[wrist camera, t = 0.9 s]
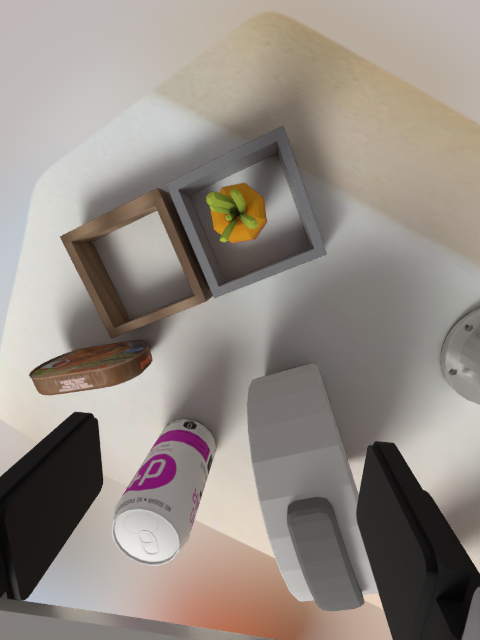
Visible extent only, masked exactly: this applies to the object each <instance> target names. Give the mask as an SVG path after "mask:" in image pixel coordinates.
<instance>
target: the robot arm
mask: <svg viewBox="0 0 480 640" xmlns="http://www.w3.org/2000/svg"><path fill="white" fill-rule="evenodd" d="M465 326H466V327H465ZM441 367H442V372H443V375H444V377H445V379H446V381H447V382H448V383H449V385H450V386H451V387H452V388H453V389H454V390H455V391H456V392H457V393H458V394H460V395H461V396H463V397H464V398H466V399H467V400H469V401H472V402H474V403H476V404H480V308H478V309H476V310H474V311H472V312H471V313H469V314H468V315H466V316H465V317H464V318H462V319H461V320H460V321H459V322H458V323H457V324H456V325H455V326H454V327H453V328H452V330H451V331H450V333H449V334H448V335H447V337H446V340H445V342H444V344H443V347H442V352H441ZM450 369H451V370H450ZM102 485H103V472H102V461H101V450H100V438H99V427H98V420H97V419H96V418H94V416H93V414H91V413H83V412H74V413H73V414H71V415H70V416H69V417H68V418H67V419H66V420H65V421H63V422H62V423H61V424H60V425H59V426H58V427H57V428H55V429H54V430H53V431H52V432H51V433H50V434H49V435H47V436H46V437H45V438H44V439H43V440H42V441H41V442H39V443H38V444H37V445H36V446H35V447H34V448H33V449H31V450H30V451H29V452H28V453H27V454H26V455H25V456H23V457H22V458H21V459H20V460H19V461H18V462H17V463H15V464H14V465H13V466H12V467H11V468H10V469H9V470H8V471H6V472H5V473H4V474H3V475H2V476H1V477H0V640H275V639H268V638H263V637H257V636H250V635H244V634H238V633H232V632H225V631H219V630H213V629H206V628H200V627H193V626H187V625H180V624H174V623H167V622H161V621H155V620H148V619H142V618H135V617H128V616H122V615H116V614H108V613H102V612H95V611H88V610H82V609H75V608H68V607H61V606H55V605H48V604H41V603H33V602H27V601H21V600H25V599H27V598H28V597H29V595H30V594H31V593H32V592H33V590H34V588H35V587H36V586H37V584H38V582H39V581H40V580H41V578H42V577H43V575H44V574H45V572H46V571H47V569H48V568H49V566H50V565H51V563H52V562H53V561H54V559H55V558H56V556H57V555H58V553H59V552H60V550H61V549H62V547H63V546H64V544H65V543H66V541H67V540H68V538H69V537H70V535H71V534H72V532H73V531H74V529H75V528H76V527H77V525H78V524H79V522H80V520H81V519H82V518H83V516H84V515H85V513H86V512H87V510H88V509H89V507H90V506H91V504H92V503H93V501H94V500H95V498H96V497H97V496H98V494H99V492H100V491H101V488H102ZM356 519H357V524H358V527H359V530H360V534H361V537H362V540H363V543H364V547H365V550H366V553H367V557H368V560H369V563H370V566H371V570H372V573H373V576H374V579H375V583H376V586H377V589H378V592H379V596H380V599H381V602H382V606H383V609H384V611H385V615H386V619H387V622H388V625H389V628H390V632H391V635H392V638H393V640H480V573H479V572H478V570H477V569H476V567H475V565H474V564H473V562H472V561H471V559H470V557H469V556H468V554H467V553H466V551H465V549H464V548H463V546H462V545H461V543H460V541H459V540H458V538H457V537H456V535H455V533H454V532H453V530H452V529H451V527H450V525H449V524H448V522H447V521H446V519H445V517H444V516H443V514H442V513H441V511H440V510H439V508H438V506H437V505H436V503H435V502H434V500H433V498H432V497H431V496H430V494H429V493H428V492H426V491H425V490H423V489H422V488H421V486H420V484H419V483H418V481H417V479H416V478H415V476H414V474H413V473H412V471H411V470H410V468H409V466H408V465H407V463H406V461H405V460H404V458H403V456H402V455H401V453H400V451H399V450H398V448H397V447H396V445H395V444H394V443H388V442H378V441H375V442H374V444H373V446H371V445H369V446H368V448H367V453H366V459H365V464H364V470H363V475H362V481H361V486H360V492H359V498H358V503H357V509H356Z"/></svg>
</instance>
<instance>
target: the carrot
mask: <svg viewBox="0 0 480 640" xmlns="http://www.w3.org/2000/svg"><path fill="white" fill-rule="evenodd" d="M206 202H207V203H208V204H209V206H210V210H211V216H212V222H213V227H214V230H215V231H217V232H218V233H219V234H221V237H220V241H221V242H223V243H224V242H226V241H228V240H229V241H230V242H231V243H235V242H241V241H247V240H253V239H256V237H257V236H258V234H259V233H260V232H261V230H262V229H263V227H264V226H265V225H266V223H267V219H266V212H265V204H264V198H263V197H262V196H261V195H260V194H258V193H257V192H256V191H255V190H253V189H252V188H251V187H249V186H248V185H247V184H245V183H241V184H236V185H231V186H226V187H222V189H221V190H220V192H219V193H218V192H213V191H212V192H211V193H209V194H208V195H207V197H206Z"/></svg>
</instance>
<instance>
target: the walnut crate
mask: <svg viewBox="0 0 480 640" xmlns="http://www.w3.org/2000/svg"><path fill="white" fill-rule="evenodd" d="M155 211H158V213H159V215H160V217H161V220H162V222H163V224H164V227H165V229H166V231H167V234H168V236H169V238H170V240H171V243H172V245H173V247H174V250H175V252H176V254H177V256H178V259H179V261H180V263H181V266H182V268H183V270H184V273H185V275H186V277H187V279H188V282H189V284H190V286H191V289H192V291H193V293H194V295H192V296H189V297H187V298H184V299H182V300H179V301H177V302H174V303H172V304H169V305H167V306H164V307H162V308H159V309H157V310H154V311H152V312H149V313H147V314H144V315H142V316H139V317H137V318H134V319H132V320H130V319H129V317H128V315H127V313H126V311H125V309H124V307H123V305H122V302H121V300H120V298H119V296H118V294H117V292H116V290H115V288H114V286H113V284H112V282H111V280H110V278H109V276H108V274H107V272H106V270H105V267H104V265H103V263H102V261H101V259H100V257H99V255H98V253H97V251H96V249H95V247H94V245H93V243H92V241H94V240H96V239H98V238H100V237H102V236H105V235H107V234H109V233H111V232H113V231H115V230H117V229H119V228H121V227H123V226H125V225H128V224H130V223H132V222H134V221H136V220H138V219H140V218H142V217H144V216H146V215H148V214H151V213H153V212H155ZM60 238H61V240H62V242H63V244H64V246H65V248H66V250H67V252H68V254H69V256H70V258H71V260H72V262H73V264H74V266H75V268H76V270H77V272H78V274H79V276H80V277H81V279H82V281H83V283H84V285H85V287H86V289H87V291H88V293H89V295H90V297H91V299H92V301H93V303H94V305H95V307H96V309H97V311H98V313H99V315H100V317H101V319H102V321H103V323H104V325H105V327H106V329H107V331H108V333H109V335H110V337H111V338H114V337H116V336H119V335H121V334H124V333H126V332H129V331H132V330H134V329H137V328H139V327H142V326H144V325H147V324H149V323H152V322H155V321H157V320H160V319H162V318H165V317H167V316H170V315H173V314H175V313H178V312H180V311H183V310H185V309H188V308H190V307H193V306H196V305H198V304H201V303H203V302H206V301H207V300H209V299H210V298H211V297H212V296H213V294H212V292H211V290H210V287H209V285H208V283H207V280H206V278H205V275H204V273H203V271H202V268H201V266H200V264H199V261H198V259H197V257H196V254H195V252H194V249H193V247H192V245H191V242H190V240H189V238H188V235H187V233H186V231H185V228H184V226H183V224H182V221H181V219H180V216H179V214H178V212H177V209H176V207H175V205H174V202H173V200H172V198H171V195H170V193H168V192H165V191H163V190H161V189H159V188H157V189H155V190H153V191H151V192H149V193H147V194H145V195H143V196H141V197H139V198H137V199H135V200H133V201H131V202H129V203H126V204H124V205H122V206H120V207H118V208H116V209H114V210H112V211H110V212H108V213H106V214H104V215H102V216H100V217H98V218H96V219H94V220H92V221H90V222H88V223H86V224H84V225H82V226H80V227H78V228H76V229H74V230H72V231H70V232H68V233H66V234H64V235H62V236H60Z"/></svg>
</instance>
